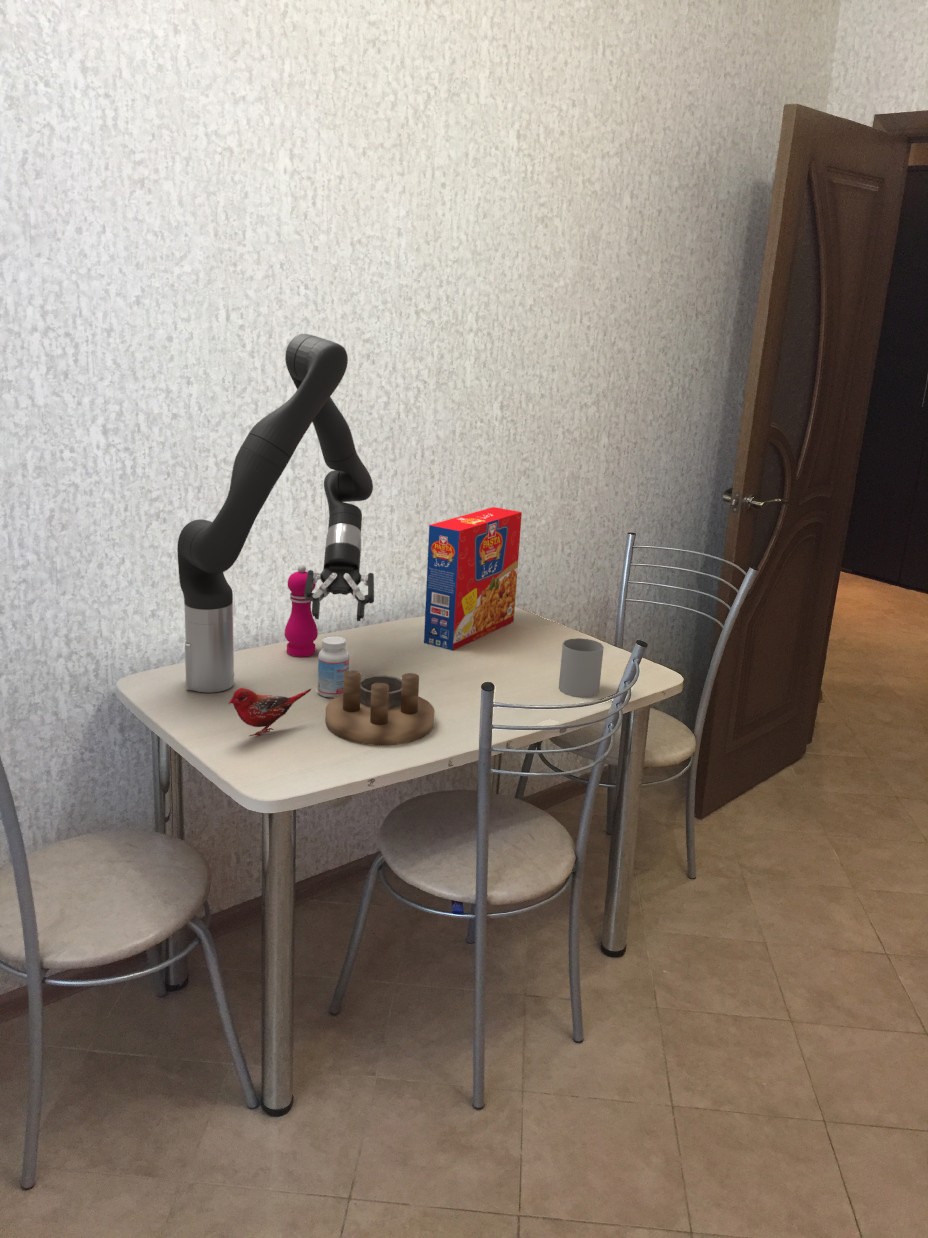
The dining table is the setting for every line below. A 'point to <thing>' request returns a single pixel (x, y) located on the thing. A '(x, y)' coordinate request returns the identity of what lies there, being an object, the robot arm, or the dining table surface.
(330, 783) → the dining table surface
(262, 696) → the decorative bird figurine
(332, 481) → the robot arm
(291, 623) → the pepper mill
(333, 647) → the pill bottle
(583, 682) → the cup
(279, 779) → the dining table surface
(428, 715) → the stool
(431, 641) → the pasta box
